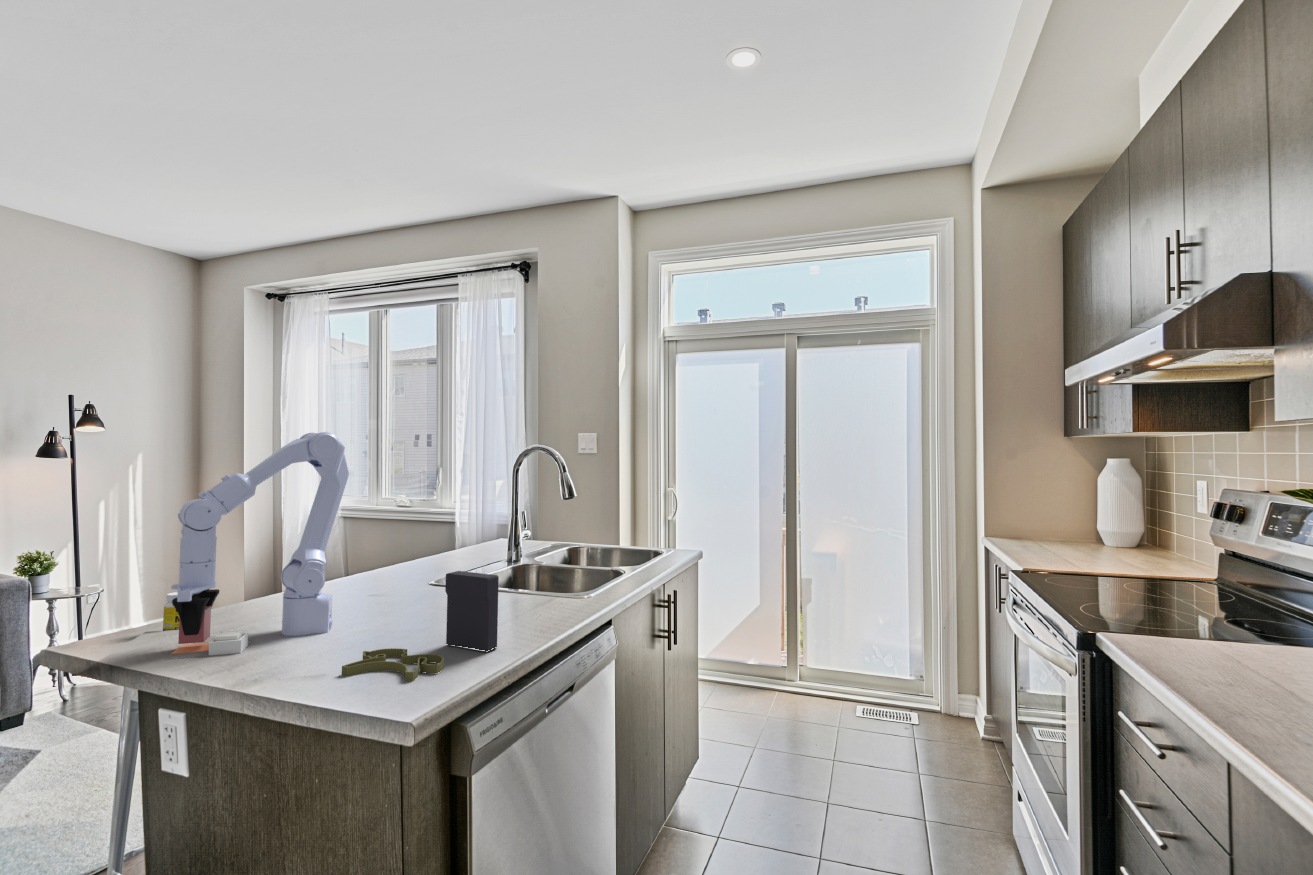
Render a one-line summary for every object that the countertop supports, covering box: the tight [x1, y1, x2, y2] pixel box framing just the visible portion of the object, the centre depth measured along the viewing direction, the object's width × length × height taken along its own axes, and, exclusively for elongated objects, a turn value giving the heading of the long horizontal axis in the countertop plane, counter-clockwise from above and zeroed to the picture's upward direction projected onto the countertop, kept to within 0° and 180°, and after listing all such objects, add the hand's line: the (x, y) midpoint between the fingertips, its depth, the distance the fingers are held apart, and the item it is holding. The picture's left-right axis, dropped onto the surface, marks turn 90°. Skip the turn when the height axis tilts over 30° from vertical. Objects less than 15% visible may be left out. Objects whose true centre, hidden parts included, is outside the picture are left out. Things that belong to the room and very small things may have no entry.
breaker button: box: [214, 630, 244, 641], centre depth 122 cm, size 4×4×3 cm
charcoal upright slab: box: [444, 570, 500, 651], centre depth 130 cm, size 11×4×15 cm, turn 65°
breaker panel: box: [164, 632, 253, 661], centre depth 122 cm, size 12×9×4 cm
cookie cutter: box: [341, 647, 445, 682], centre depth 117 cm, size 18×12×2 cm, turn 79°
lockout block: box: [178, 606, 212, 645], centre depth 123 cm, size 4×4×6 cm
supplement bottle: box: [162, 591, 179, 632], centre depth 139 cm, size 5×5×8 cm
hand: (195, 631), depth 123 cm, fingers closed on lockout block, 4 cm apart
